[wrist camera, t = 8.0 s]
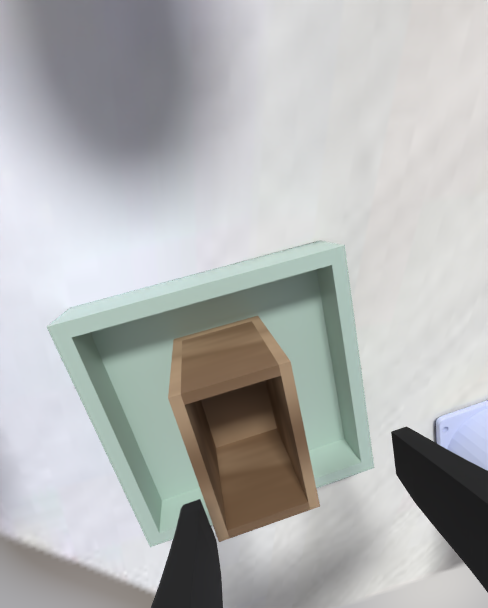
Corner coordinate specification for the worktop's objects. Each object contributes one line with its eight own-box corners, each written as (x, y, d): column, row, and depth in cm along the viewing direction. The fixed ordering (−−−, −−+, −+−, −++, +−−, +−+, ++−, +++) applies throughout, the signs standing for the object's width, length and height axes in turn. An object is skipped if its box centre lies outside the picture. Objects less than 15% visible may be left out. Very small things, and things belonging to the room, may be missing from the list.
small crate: (283, 426, 21) (319, 506, 15) (209, 449, 20) (219, 542, 15) (257, 315, 18) (290, 361, 13) (173, 339, 18) (168, 398, 12)
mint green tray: (350, 436, 23) (374, 467, 20) (154, 503, 22) (150, 547, 19) (320, 240, 19) (344, 245, 16) (69, 307, 17) (46, 326, 14)
